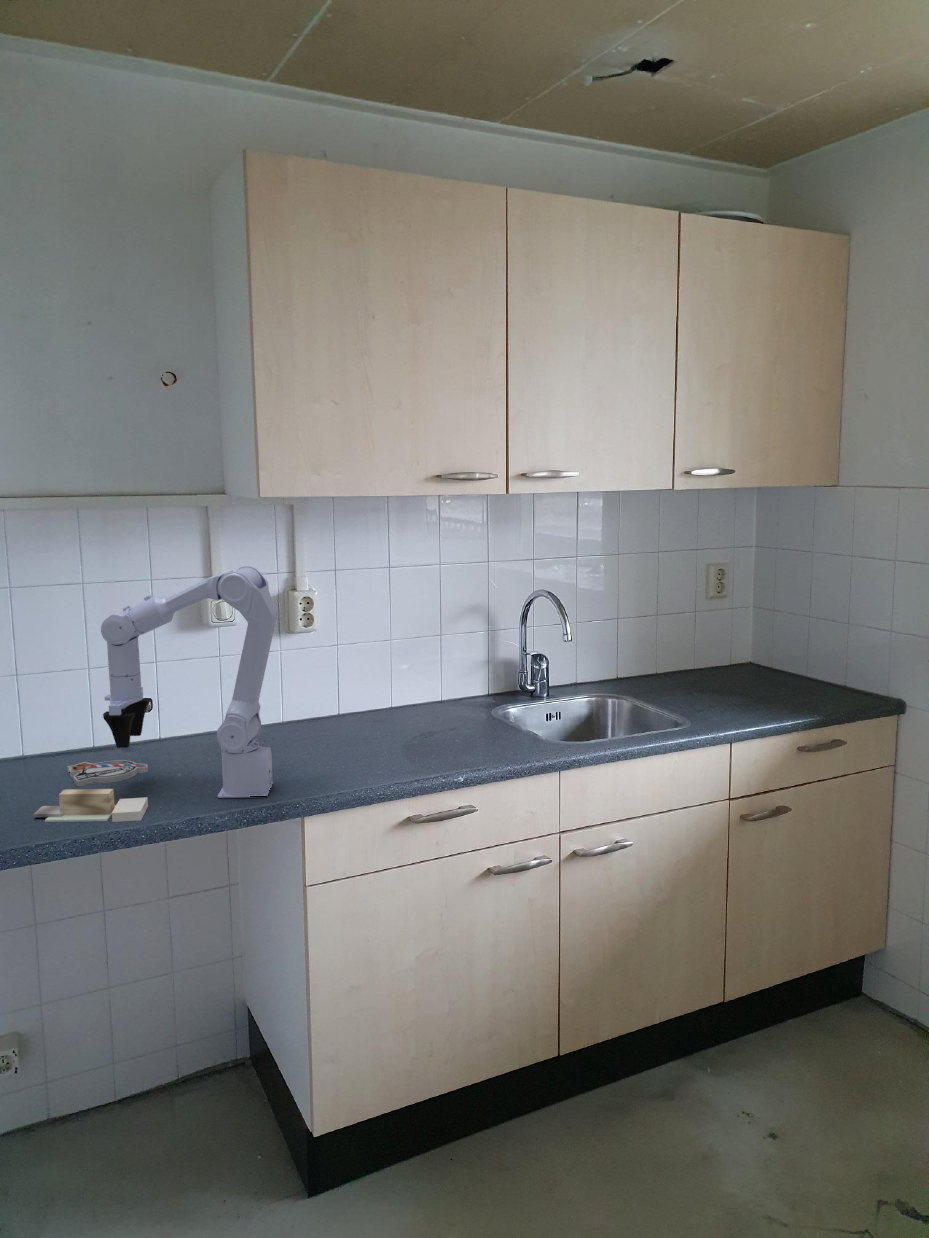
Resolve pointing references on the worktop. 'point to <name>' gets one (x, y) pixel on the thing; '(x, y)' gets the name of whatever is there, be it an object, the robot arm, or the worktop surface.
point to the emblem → (104, 771)
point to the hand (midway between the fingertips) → (129, 741)
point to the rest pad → (78, 818)
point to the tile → (130, 809)
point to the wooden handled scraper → (80, 803)
